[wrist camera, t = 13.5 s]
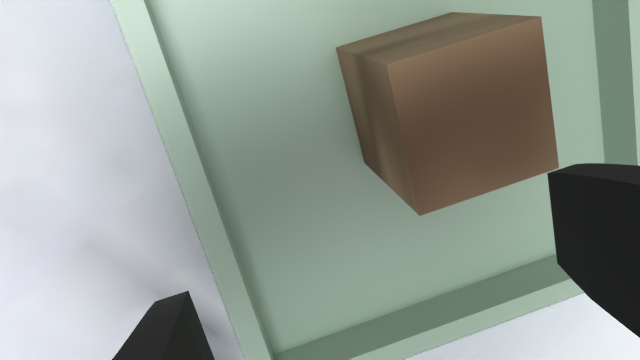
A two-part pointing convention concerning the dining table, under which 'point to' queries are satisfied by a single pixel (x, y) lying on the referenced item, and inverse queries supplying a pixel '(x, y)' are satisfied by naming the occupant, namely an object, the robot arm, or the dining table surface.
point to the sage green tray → (361, 171)
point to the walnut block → (452, 106)
